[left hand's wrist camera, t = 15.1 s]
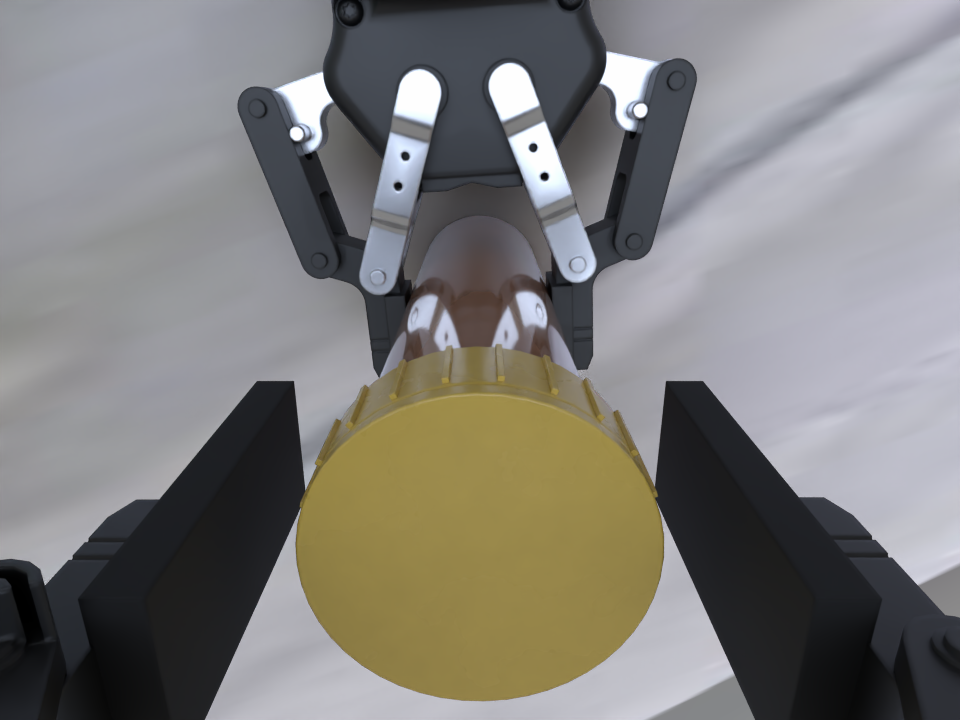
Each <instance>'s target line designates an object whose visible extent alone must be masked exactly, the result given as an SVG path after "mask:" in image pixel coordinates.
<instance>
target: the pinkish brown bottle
mask: <svg viewBox="0 0 960 720" xmlns="http://www.w3.org/2000/svg"><path fill="white" fill-rule="evenodd" d="M496 344H502V348H505V349H511V350H517V351H522V352H525V353H528V354H532V355H535V356H538V357H542V358H543V356H544V355H547V356H549V357H550V359H551V362H553V363H555V364H557V365H560V366H562V367H563V368H565V369H566V370H568V371H570V372H571V373H573V374H575V375H576V376H578V377H579V378H580V376H579V373H578V371H577V368H576V365H575V363H574V360H573V357H572V355H571V352H570V349H569V347H568V344H567V341H566V339H565V336H564V333H563V331H562V328H561V325H560V323H559V320H558V317H557V315H556V312H555V309H554V307H553V304H552V301H551V299H550V296H549V293H548V291H547V288H546V285H545V283H544V280H543V277H542V275H541V272H540V269H539V267H538V264H537V261H536V259H535V256H534V253H533V251H532V248H531V246H530V244H529V243H528V241H527V240H526V238H525V237H524V236H523V235H522V233H521V232H520V231H519V230H517V229H516V228H515V227H514V226H512V225H511V224H509V223H508V222H506V221H503V220H501V219H498V218H495V217H491V216H481V215H477V216H469V217H465V218H462V219H459V220H456V221H454V222H453V223H451V224H449V225H448V226H446V227H445V228H444V229H442V230H441V231H440V232H439V233H438V234H437V236H436V237H435V238H434V239H433V241H432V243H431V244H430V246H429V248H428V251H427V253H426V256H425V258H424V261H423V264H422V266H421V269H420V272H419V274H418V277H417V280H416V282H415V285H414V288H413V290H412V293H411V296H410V298H409V301H408V304H407V306H406V309H405V312H404V314H403V317H402V320H401V322H400V325H399V328H398V330H397V333H396V336H395V338H394V341H393V344H392V346H391V349H390V352H389V354H388V357H387V360H386V362H385V365H384V367H383V370H382V373H381V375H380V378H381V377H382V376H384V375H385V374H387V373H388V372H390V371H391V370H393V369H395V368H397V367H398V365H399V362H400V361H402V360H404V359H405V360H406V362H409V361H411V360H413V359H416V358H419V357H422V356H425V355H428V354H431V353H434V352H439V351H444V350H445V349H446V346H450V345H452V347H453V348H465V347H495V346H496Z"/></svg>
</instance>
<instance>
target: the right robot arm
mask: <svg viewBox="0 0 960 720" xmlns="http://www.w3.org/2000/svg"><path fill="white" fill-rule="evenodd" d="M331 3H332V11H333V32H332V38H331V42H330V46H329V49H328V51H327V54H326V56H325V59H324V64H323V71H322V72H319V73H316V74H313V75H310V76H308V77H305V78H302V79H299V80H296V81H294V82H291V83H288V84H285V85H282V86H279V87H277V88H265V87H250V88H248V89H246V90H245V91H243V92H242V94H241V95H240V97H239V100H238V112H239V115H240V118H241V120H242V122H243V125H244V127H245V130H246V132H247V134H248V137H249V139H250V142H251V144H252V146H253V149H254V151H255V154H256V156H257V158H258V161H259V163H260V166H261V168H262V170H263V173H264V175H265V178H266V180H267V182H268V185H269V187H270V190H271V192H272V195H273V197H274V199H275V202H276V204H277V207H278V209H279V211H280V214H281V216H282V219H283V221H284V223H285V226H286V228H287V231H288V233H289V235H290V238H291V240H292V243H293V245H294V247H295V250H296V252H297V255H298V257H299V259H300V262H301V264H302V267H303V268H304V270H305V271H306V272H307V273H308V274H309V275H310V276H312V277H314V278H318V279H325V278H328V277H330V278H334V279H337V280H341V281H344V282H348V283H350V284H352V285H354V286H355V287H357V288H358V289H359V290H360V292H361V293H362V295H363V296H364V299H365V303H366V311H367V319H368V327H369V335H370V341H371V342H370V343H371V351H372V359H373V367H374V369H375V371H376V373H377V375H378V377H379V378H380V375H381V373H382V370H383V367H384V365H385V362H386V360H387V357H388V354H389V352H390V349H391V346H392V344H393V341H394V338H395V336H396V333H397V330H398V328H399V325H400V322H401V320H402V317H403V314H404V312H405V309H406V306H407V304H408V301H409V298H410V296H411V293H412V284H411V280H405V279H404V270H403V267H404V264H405V260H406V256H407V252H408V248H409V244H410V240H411V236H412V232H413V228H414V224H415V220H416V217H417V214H418V211H419V207H420V203H421V199H422V195H423V193H424V192H440V191H448V190H451V189H454V188H457V187H460V186H463V185H466V184H468V183H477V184H482V185H487V186H492V187H497V188H501V187H516V186H522V183H523V184H524V187H525V189H526V192H527V194H528V197H529V199H530V202H531V204H532V207H533V209H534V211H535V214H536V216H537V219H538V221H539V224H540V226H541V229H542V231H543V234H544V236H545V239H546V241H547V244H548V246H549V249H550V251H551V262H552V271H551V272H546V288H547V291H548V293H549V296H550V299H551V301H552V304H553V307H554V309H555V312H556V315H557V317H558V320H559V323H560V325H561V328H562V331H563V333H564V336H565V339H566V341H567V344H568V347H569V349H570V352H571V355H572V357H573V360H574V363H575V365H576V368H577V370H585V369H588V366H589V364H590V362H591V359H592V357H593V283H594V280H595V278H596V277H597V275H598V274H599V273H600V272H601V271H602V270H603V269H605V268H606V267H608V266H611V265H613V264H615V263H618V262H620V261H622V260H625V259H628V260H637V259H640V258H642V257H644V256H645V255H646V254H647V253H648V252H649V251H650V249H651V247H652V244H653V241H654V237H655V233H656V230H657V226H658V222H659V219H660V215H661V211H662V208H663V204H664V200H665V197H666V193H667V189H668V185H669V182H670V178H671V174H672V171H673V167H674V163H675V160H676V156H677V152H678V149H679V145H680V141H681V138H682V134H683V130H684V127H685V123H686V119H687V116H688V112H689V108H690V105H691V101H692V97H693V94H694V90H695V86H696V82H697V76H696V71H695V69H694V67H693V66H692V64H691V63H690V62H688V61H687V60H684V59H680V58H676V59H668V60H664V61H660V62H657V61H652V60H647V59H643V58H638V57H633V56H628V55H623V54H618V53H613V52H608V51H606V47H605V43H604V41H603V38H602V36H601V35H600V33H599V31H598V29H597V27H596V25H595V23H594V20H593V17H592V14H591V10H590V5H589V0H331ZM598 86H600V87H602V88H603V89H605V91H606V92H607V93H608V95H609V97H610V101H611V108H610V115H611V119H612V121H613V123H614V124H615V125H616V126H617V127H618V128H620V129H622V130H626V131H625V135H624V139H623V143H622V147H621V152H620V156H619V160H618V164H617V168H616V172H615V176H614V180H613V184H612V188H611V193H610V197H609V201H608V205H607V209H606V213H605V217H604V219H603V220H601V221H599V222H596V223H594V224H592V225H590V226H587V227H585V228H584V225H583V223H582V220H581V217H580V215H579V212H578V209H577V205H576V201H575V198H574V195H573V192H572V190H571V187H570V184H569V182H568V179H567V176H566V174H565V171H564V169H563V166H562V163H561V161H560V158H559V155H558V153H557V149H558V147H559V146H560V144H561V143H562V141H563V140H564V138H565V136H566V135H567V133H568V132H569V130H570V129H571V127H572V126H573V124H574V122H575V121H576V119H577V118H578V116H579V115H580V113H581V112H582V110H583V108H584V107H585V105H586V104H587V102H588V101H589V99H590V98H591V96H592V94H593V93H594V91H595V90H596V88H597V87H598ZM335 104H336V105H337V106H338V108H339V109H340V110H341V111H342V112H343V113H344V115H345V116H346V117H347V118H348V119H349V121H350V122H351V123H352V124H353V125H354V126H355V128H356V129H357V130H358V131H359V132H360V134H361V135H362V136H363V137H364V138H365V140H366V141H367V142H368V143H369V144H370V145H371V147H372V148H373V149H374V150H375V151H376V153H377V154H378V155H379V156H380V157H381V158H382V160H383V164H382V168H381V173H380V177H379V181H378V186H377V190H376V194H375V199H374V203H373V208H372V213H371V224H370V229H369V233H368V237H367V241H365V240H361V239H358V238H354V237H351V236H349V235H348V232H347V230H346V227H345V224H344V222H343V219H342V217H341V214H340V212H339V209H338V206H337V204H336V201H335V199H334V196H333V193H332V191H331V188H330V186H329V183H328V180H327V178H326V175H325V173H324V170H323V167H322V165H321V162H320V160H319V157H318V154H317V152H316V151H318V150H320V149H321V148H323V147H324V145H325V144H326V142H327V139H328V128H327V122H326V120H327V114H328V112H329V110H330V109H331V107H332V106H333V105H335Z"/></svg>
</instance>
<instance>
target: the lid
mask: <svg viewBox="0 0 960 720" xmlns="http://www.w3.org/2000/svg"><path fill="white" fill-rule="evenodd" d="M315 464H316V465H317V467H316V469H315V471H314V474H313V476H312V478H311V480H310V482H309V484H308V487H307V489H306V491H305V493H304V495H303V498H302V500H301V502H300V508H301V512H300V516H299V520H298V524H297V534H296V559H297V567H298V572H299V576H300V581H301V585H302V588H303V590H304V593H305V595H306V598H307V601H308V603H309V605H310V607H311V609H312V611H313V612H314V614H315V616H316V618H317V619H318V621H319V623H320V624H321V625H322V627H323V628H324V629H325V631H326V632H327V633H328V634H329V636H330V637H331V638H332V639H333V640H334V641H335V642H336V643H337V644H338V645H339V646H340V647H341V648H342V649H343V650H344V651H345V652H346V653H347V654H348V655H349V656H351V657H352V658H353V659H354V660H356V661H357V662H358V663H359V664H361V665H362V666H364V667H365V668H367V669H369V670H370V671H372V672H373V673H375V674H377V675H378V676H380V677H382V678H384V679H386V680H388V681H390V682H393V683H395V684H397V685H399V686H402V687H405V688H407V689H410V690H413V691H416V692H419V693H423V694H427V695H431V696H436V697H440V698H447V699H454V700H462V701H494V700H507V699H513V698H519V697H525V696H529V695H533V694H537V693H540V692H544V691H547V690H550V689H553V688H555V687H558V686H560V685H563V684H565V683H568V682H570V681H572V680H574V679H576V678H578V677H579V676H581V675H583V674H585V673H587V672H589V671H590V670H591V669H593V668H594V667H596V666H597V665H599V664H600V663H602V662H603V661H605V660H606V659H607V658H608V657H609V656H610V655H612V654H613V653H614V652H615V651H616V650H617V649H619V648H620V647H621V646H622V644H623V643H624V642H625V641H626V640H627V639H628V638H629V637H630V636H631V634H632V633H633V632H634V631H635V629H636V628H637V626H638V625H639V623H640V622H641V621H642V619H643V618H644V616H645V614H646V612H647V610H648V608H649V606H650V604H651V602H652V600H653V598H654V596H655V593H656V590H657V587H658V584H659V581H660V577H661V571H662V565H663V559H664V533H663V527H662V520H661V515H660V512H659V509H658V506H657V503H656V499H655V497H658V494H657V491H656V489H655V487H654V484H653V482H652V480H651V478H650V476H649V474H648V471H647V469H646V467H645V465H644V463H643V461H642V459H641V456H640V454H639V452H638V450H637V448H636V446H635V444H634V442H633V440H632V437H631V435H630V433H629V431H628V429H627V427H626V424H625V422H624V420H623V418H622V416H621V414H620V412H619V411H618V410H617V411H615V412H613V411H612V409H611V408H610V406H609V405H608V404H607V403H606V402H605V400H604V399H603V398H602V397H601V396H600V395H599V394H598V393H597V392H596V391H595V390H594V388H593V386H592V383H591V381H590V380H589V379H587V378H585V379H584V380H582V379H581V378H579V377H578V376H576V375H575V374H573V373H571V372H570V371H568V370H566V369H565V368H563V367H562V366H560V365H557V364H555V363H553V362H551V359H550V357H549V356H547V355H544V356H543V358H542V357H538V356H535V355H532V354H528V353H525V352H522V351H517V350H511V349H505V348H502V344H496V346H495V347H465V348H453V347H452V345H450V346H446V349H445V350H444V351H439V352H434V353H431V354H428V355H425V356H422V357H419V358H416V359H413V360H411V361H409V362H406V360H405V359H404V360H402V361H400V362H399V365H398V367H397V368H395V369H393V370H391V371H390V372H388V373H387V374H385V375H384V376H382V377H381V378H379V379H378V380H376V381H375V382H374V383H373V384H372V385H371V386H369V387H367V386H366V385H364V386H363V387H362V388H361V389H360V392H359V394H358V396H357V399H356V400H355V402H354V403H353V404H352V405H351V406H350V407H349V409H348V410H347V411H346V413H345V415H344V416H343V418H342V419H341V421H340V420H338V419H336V420H335V422H334V424H333V426H332V428H331V430H330V432H329V434H328V436H327V439H326V441H325V443H324V445H323V447H322V449H321V451H320V454H319V456H318V458H317V460H316V462H315Z"/></svg>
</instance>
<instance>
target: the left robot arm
mask: <svg viewBox="0 0 960 720" xmlns="http://www.w3.org/2000/svg"><path fill="white" fill-rule="evenodd" d="M655 489H656V491H657V494H658V497H655V499H656V501H657V504H658V506H659V508H660V510H661V512H662V515H663V517H664V519H665V521H666V524H667V526H668V528H669V530H670V532H671V535H672V537H673V539H674V541H675V543H676V546H677V548H678V550H679V552H680V554H681V557H682V559H683V561H684V563H685V566H686V568H687V570H688V572H689V574H690V577H691V579H692V581H693V583H694V585H695V588H696V590H697V592H698V594H699V596H700V599H701V601H702V603H703V605H704V608H705V610H706V612H707V614H708V616H709V619H710V621H711V623H712V625H713V627H714V630H715V632H716V634H717V636H718V639H719V641H720V643H721V645H722V647H723V650H724V652H725V654H726V656H727V658H728V661H729V663H730V665H731V667H732V669H733V672H734V674H735V676H736V678H737V681H738V683H739V685H740V687H741V689H742V692H743V694H744V696H745V698H746V700H747V703H748V705H749V707H750V709H751V711H752V714H753V716H754V718H755V720H960V618H959V617H955V616H947V615H944V613H943V612H942V611H941V610H940V609H939V608H938V607H937V606H936V605H935V604H934V603H933V602H932V600H931V599H930V598H929V597H928V596H927V595H926V594H925V593H924V592H923V591H922V590H921V589H920V587H919V586H918V585H917V584H916V583H915V582H914V581H913V580H912V579H911V578H910V577H909V576H908V574H907V573H906V572H905V571H904V570H903V569H902V568H901V567H900V566H899V565H898V564H897V562H896V561H895V560H894V559H893V558H889V557H888V553H887V552H886V551H885V549H884V548H883V547H882V546H881V545H880V544H879V543H878V542H877V541H876V540H872V535H871V534H870V533H869V532H868V531H867V530H866V529H865V528H864V527H863V526H862V525H861V523H860V522H859V521H858V520H857V519H856V518H855V517H854V516H853V515H852V514H850V513H849V512H847V511H845V510H844V509H842V508H840V507H839V506H837V505H835V504H834V503H832V502H831V501H829V500H827V499H826V498H824V497H798V496H797V495H796V493H795V492H794V491H793V490H792V489H791V487H790V486H789V485H788V484H787V483H786V481H785V480H784V479H783V478H782V476H781V475H780V474H779V473H778V472H777V470H776V469H775V468H774V467H773V466H772V464H771V463H770V462H769V461H768V460H767V458H766V457H765V456H764V455H763V453H762V452H761V451H760V450H759V449H758V447H757V446H756V445H755V444H754V443H753V441H752V440H751V439H750V438H749V436H748V435H747V434H746V433H745V432H744V430H743V429H742V428H741V427H740V426H739V424H738V423H737V422H736V421H735V420H734V418H733V417H732V416H731V415H730V413H729V412H728V411H727V410H726V409H725V407H724V406H723V405H722V404H721V403H720V401H719V400H718V399H717V398H716V396H715V395H714V394H713V393H712V392H711V390H710V389H709V388H708V387H707V386H706V384H705V383H704V382H703V381H666V387H665V396H664V406H663V415H662V425H661V435H660V444H659V454H658V463H657V473H656V483H655ZM304 493H305V483H304V473H303V463H302V454H301V444H300V435H299V425H298V416H297V406H296V396H295V387H294V381H257V382H256V383H255V384H254V386H253V387H252V388H251V389H250V390H249V392H248V393H247V394H246V395H245V396H244V398H243V399H242V400H241V401H240V403H239V404H238V405H237V406H236V407H235V409H234V410H233V411H232V412H231V413H230V415H229V416H228V417H227V418H226V420H225V421H224V422H223V423H222V424H221V426H220V427H219V428H218V429H217V430H216V432H215V433H214V434H213V435H212V436H211V438H210V439H209V440H208V441H207V443H206V444H205V445H204V446H203V447H202V449H201V450H200V451H199V452H198V453H197V455H196V456H195V457H194V458H193V460H192V461H191V462H190V463H189V464H188V466H187V467H186V468H185V469H184V470H183V472H182V473H181V474H180V475H179V476H178V478H177V479H176V480H175V481H174V483H173V484H172V485H171V486H170V487H169V489H168V490H167V491H166V492H165V493H164V495H163V496H162V497H161V498H160V500H135V501H133V502H132V503H130V504H129V505H127V506H125V507H124V508H122V509H120V510H119V511H117V512H116V513H114V514H112V515H111V516H109V517H108V518H107V519H106V520H105V521H104V522H103V523H102V524H101V525H100V526H99V527H98V529H97V530H96V531H95V532H94V533H93V534H92V535H91V536H90V537H89V541H88V542H85V543H84V544H83V545H82V546H81V547H80V548H79V549H78V550H77V551H76V553H75V554H74V555H73V559H72V560H68V561H67V562H66V563H65V565H64V566H63V567H62V568H61V569H60V570H59V571H58V572H57V573H56V574H55V575H54V577H53V578H52V579H51V580H50V581H49V582H48V583H47V584H46V585H44V581H43V578H42V574H41V570H40V569H39V568H38V567H36V566H35V565H34V564H32V563H31V562H29V561H22V560H15V559H6V560H0V720H205V718H206V716H207V714H208V711H209V709H210V707H211V705H212V703H213V700H214V698H215V696H216V694H217V692H218V689H219V687H220V685H221V683H222V681H223V678H224V676H225V674H226V672H227V669H228V667H229V665H230V663H231V661H232V658H233V656H234V654H235V652H236V650H237V647H238V645H239V643H240V641H241V639H242V636H243V634H244V632H245V630H246V627H247V625H248V623H249V621H250V619H251V616H252V614H253V612H254V610H255V608H256V605H257V603H258V601H259V599H260V596H261V594H262V592H263V590H264V588H265V585H266V583H267V581H268V579H269V577H270V574H271V572H272V570H273V568H274V566H275V563H276V561H277V559H278V557H279V554H280V552H281V550H282V548H283V546H284V543H285V541H286V539H287V537H288V535H289V532H290V530H291V528H292V526H293V523H294V521H295V519H296V517H297V515H298V512H299V510H300V502H301V500H302V498H303V495H304Z"/></svg>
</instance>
